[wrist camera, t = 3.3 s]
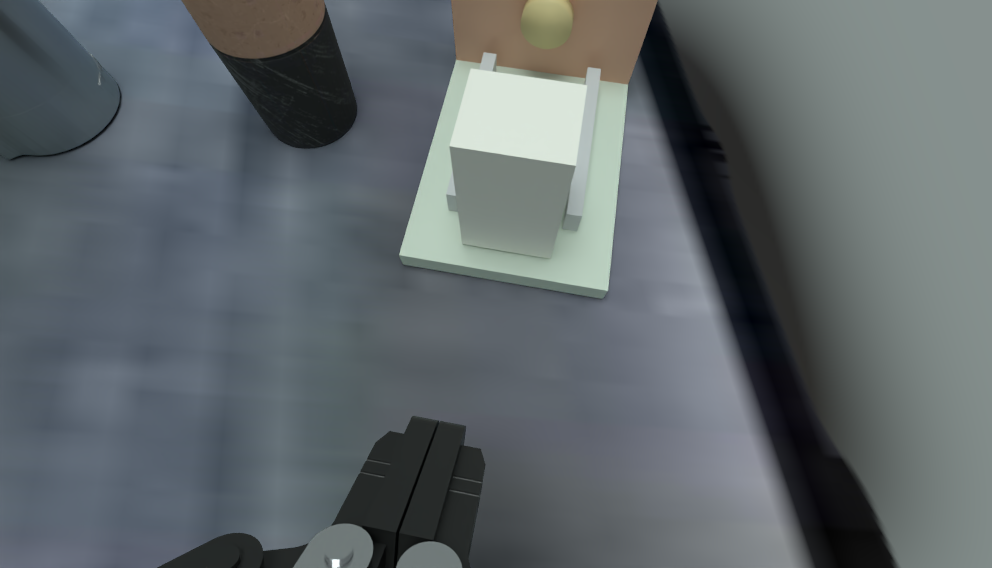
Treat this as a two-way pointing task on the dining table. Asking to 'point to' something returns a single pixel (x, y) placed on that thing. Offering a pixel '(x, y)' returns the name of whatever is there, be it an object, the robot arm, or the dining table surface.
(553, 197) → the white rectangular block
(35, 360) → the dining table surface
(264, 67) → the travel mug
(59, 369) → the dining table surface
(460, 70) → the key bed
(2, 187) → the dining table surface
